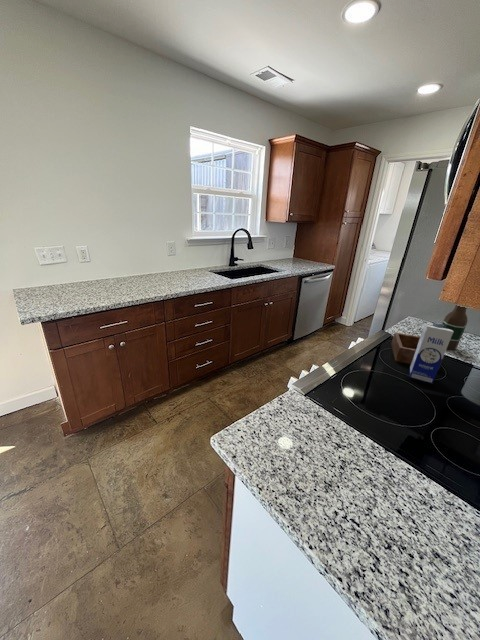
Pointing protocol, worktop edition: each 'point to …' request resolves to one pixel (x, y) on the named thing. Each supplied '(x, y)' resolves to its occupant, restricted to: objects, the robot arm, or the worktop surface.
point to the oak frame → (405, 347)
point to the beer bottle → (455, 325)
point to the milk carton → (430, 352)
